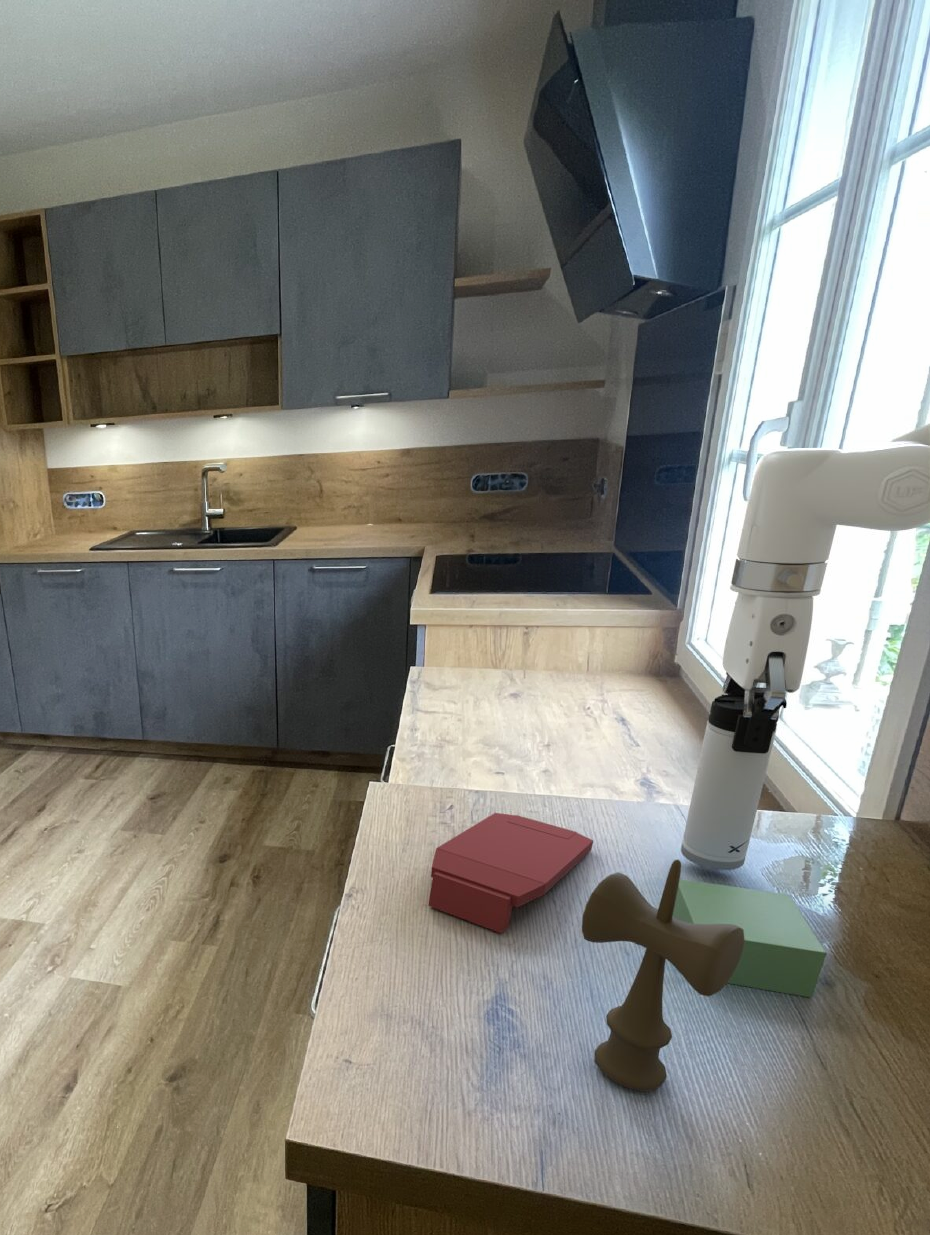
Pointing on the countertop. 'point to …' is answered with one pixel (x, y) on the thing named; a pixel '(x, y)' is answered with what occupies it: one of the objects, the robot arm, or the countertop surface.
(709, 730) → the travel mug
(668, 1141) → the countertop surface
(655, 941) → the kendama
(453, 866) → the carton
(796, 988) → the green block
